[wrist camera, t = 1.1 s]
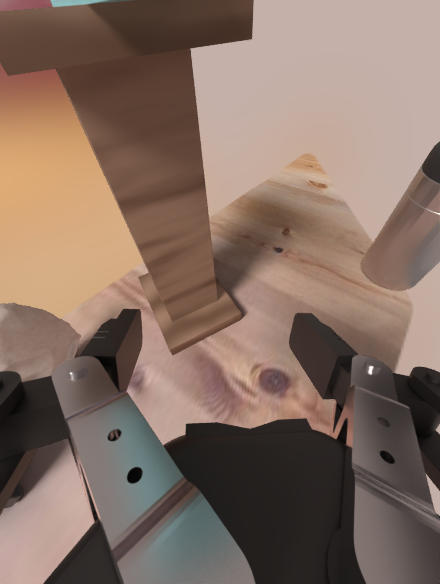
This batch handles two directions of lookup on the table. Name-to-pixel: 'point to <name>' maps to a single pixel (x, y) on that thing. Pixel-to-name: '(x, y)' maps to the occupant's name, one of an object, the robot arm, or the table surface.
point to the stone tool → (34, 341)
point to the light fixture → (15, 496)
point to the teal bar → (80, 2)
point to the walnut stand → (143, 132)
